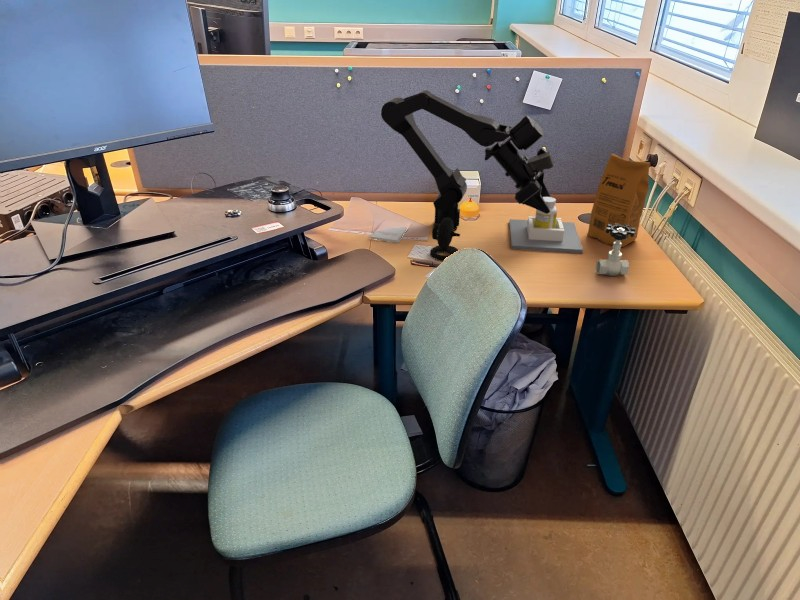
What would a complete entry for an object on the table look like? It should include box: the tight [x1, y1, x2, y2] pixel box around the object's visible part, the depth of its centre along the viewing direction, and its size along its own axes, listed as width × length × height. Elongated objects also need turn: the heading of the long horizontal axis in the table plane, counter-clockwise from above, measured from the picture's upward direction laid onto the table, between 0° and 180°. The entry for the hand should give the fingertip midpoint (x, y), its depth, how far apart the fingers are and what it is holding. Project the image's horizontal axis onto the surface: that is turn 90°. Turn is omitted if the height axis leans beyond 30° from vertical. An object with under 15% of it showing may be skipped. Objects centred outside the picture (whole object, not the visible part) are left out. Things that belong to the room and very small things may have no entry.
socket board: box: [509, 215, 584, 254], centre depth 148 cm, size 18×18×4 cm
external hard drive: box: [368, 226, 407, 244], centre depth 152 cm, size 2×8×12 cm
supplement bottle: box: [534, 196, 558, 229], centre depth 146 cm, size 5×5×10 cm
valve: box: [595, 223, 636, 277], centre depth 127 cm, size 7×7×12 cm
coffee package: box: [587, 153, 652, 248], centre depth 143 cm, size 10×12×22 cm
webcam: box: [429, 218, 461, 262], centre depth 137 cm, size 8×8×10 cm
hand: (549, 206), depth 144 cm, fingers open, 9 cm apart
